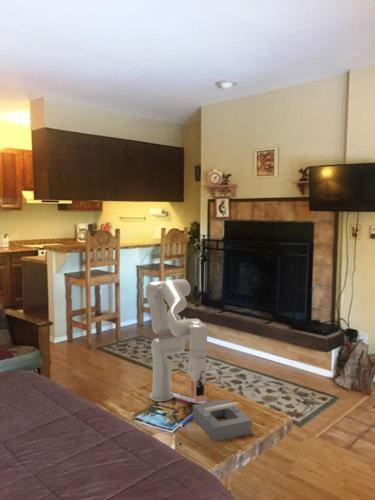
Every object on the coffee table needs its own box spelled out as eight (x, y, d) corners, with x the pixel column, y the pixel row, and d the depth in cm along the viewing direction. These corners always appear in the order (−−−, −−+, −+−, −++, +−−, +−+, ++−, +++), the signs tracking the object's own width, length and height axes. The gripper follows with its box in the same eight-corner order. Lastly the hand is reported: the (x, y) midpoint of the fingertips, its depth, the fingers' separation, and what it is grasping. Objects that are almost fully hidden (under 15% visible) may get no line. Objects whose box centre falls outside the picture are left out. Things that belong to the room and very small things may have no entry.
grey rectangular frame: (192, 417, 198) (193, 397, 197) (226, 411, 206) (227, 392, 205) (214, 441, 178) (214, 419, 177) (251, 433, 185) (252, 412, 185)
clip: (189, 396, 188) (190, 375, 187) (197, 395, 189) (198, 374, 188) (195, 402, 182) (195, 381, 181) (203, 401, 183) (204, 379, 182)
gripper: (182, 346, 190) (181, 385, 192) (197, 359, 174) (196, 402, 176) (198, 345, 193) (196, 383, 195) (214, 357, 177) (213, 399, 179)
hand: (196, 391), depth 185 cm, fingers closed on clip, 6 cm apart
